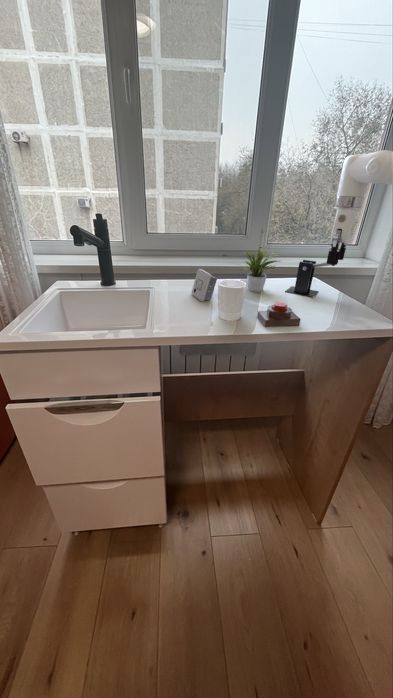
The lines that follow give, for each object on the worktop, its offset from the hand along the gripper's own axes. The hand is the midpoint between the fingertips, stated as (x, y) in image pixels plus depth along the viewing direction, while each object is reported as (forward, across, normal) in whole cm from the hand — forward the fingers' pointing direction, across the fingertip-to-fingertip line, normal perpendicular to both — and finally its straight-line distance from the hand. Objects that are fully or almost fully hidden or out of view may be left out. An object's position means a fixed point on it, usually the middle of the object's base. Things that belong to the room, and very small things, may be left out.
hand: (334, 261), depth 94 cm
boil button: (+9, -30, +7) cm, 32 cm away
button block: (+13, -30, +7) cm, 33 cm away
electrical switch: (+13, -25, +36) cm, 45 cm away
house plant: (+13, -9, +24) cm, 28 cm away
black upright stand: (+13, 0, +9) cm, 16 cm away
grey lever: (+3, 0, +4) cm, 5 cm away
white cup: (+13, -35, +20) cm, 42 cm away
